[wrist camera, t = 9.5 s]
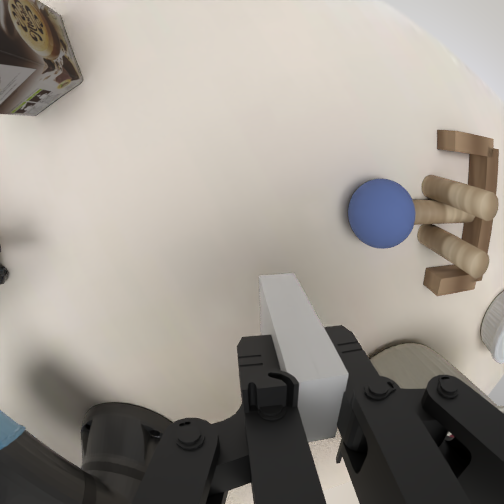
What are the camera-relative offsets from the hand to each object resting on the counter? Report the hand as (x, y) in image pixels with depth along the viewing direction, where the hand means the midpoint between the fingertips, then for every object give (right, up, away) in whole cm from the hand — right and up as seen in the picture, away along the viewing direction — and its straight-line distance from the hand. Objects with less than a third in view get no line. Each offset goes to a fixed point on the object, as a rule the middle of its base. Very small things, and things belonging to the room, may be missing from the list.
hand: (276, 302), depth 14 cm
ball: (+10, +5, +12) cm, 16 cm away
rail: (+21, +7, +16) cm, 27 cm away
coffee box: (-21, +20, +7) cm, 30 cm away
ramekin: (+36, -7, +22) cm, 43 cm away
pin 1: (+17, +9, +14) cm, 24 cm away
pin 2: (+17, +4, +16) cm, 24 cm away
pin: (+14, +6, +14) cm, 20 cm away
